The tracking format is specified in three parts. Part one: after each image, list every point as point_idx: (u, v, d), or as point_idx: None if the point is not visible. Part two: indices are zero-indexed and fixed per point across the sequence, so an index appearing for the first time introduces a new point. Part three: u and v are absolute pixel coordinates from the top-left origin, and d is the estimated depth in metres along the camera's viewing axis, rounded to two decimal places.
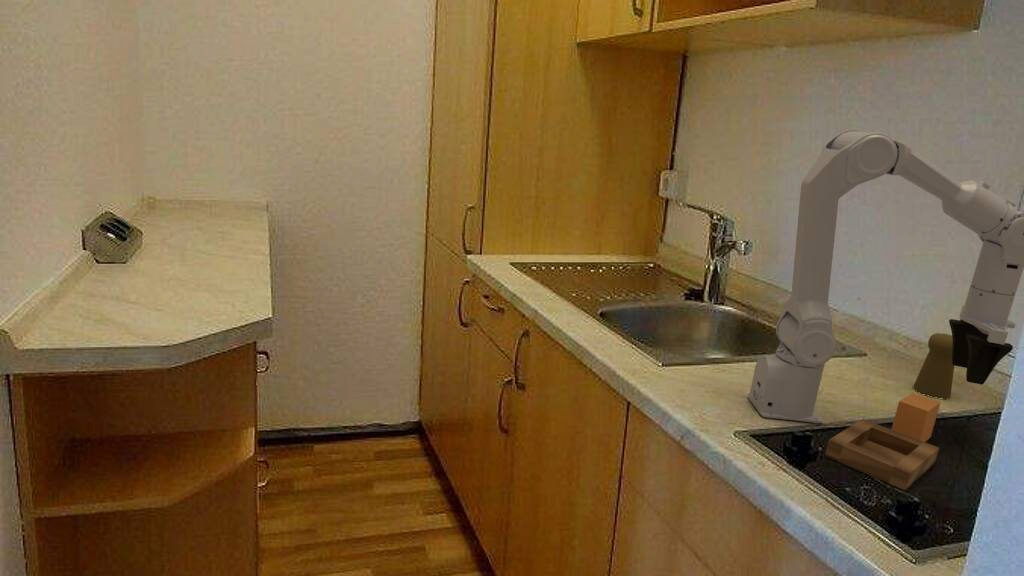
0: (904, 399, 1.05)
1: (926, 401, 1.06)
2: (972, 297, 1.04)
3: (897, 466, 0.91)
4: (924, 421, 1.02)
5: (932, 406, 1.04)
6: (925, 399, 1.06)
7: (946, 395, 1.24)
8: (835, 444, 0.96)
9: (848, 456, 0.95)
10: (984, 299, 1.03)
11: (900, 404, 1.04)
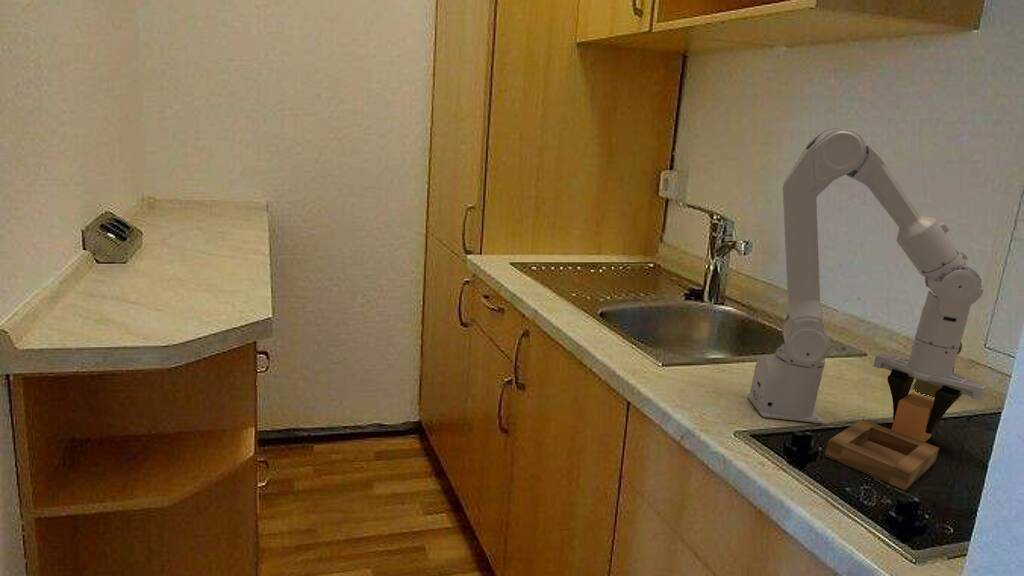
0: (904, 398, 1.05)
1: (926, 400, 1.05)
2: None
3: (897, 466, 0.91)
4: (924, 420, 1.02)
5: (932, 406, 1.04)
6: (925, 399, 1.06)
7: None
8: (835, 444, 0.96)
9: (848, 456, 0.95)
10: None
11: (901, 403, 1.04)
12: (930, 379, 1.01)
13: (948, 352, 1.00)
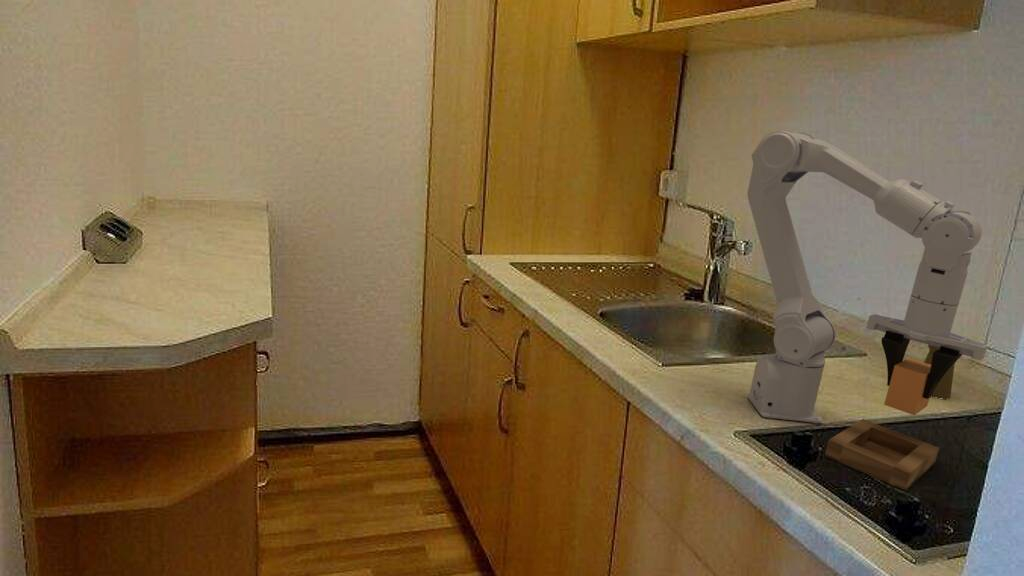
0: (900, 363, 0.99)
1: (923, 366, 0.99)
2: None
3: (897, 466, 0.91)
4: (921, 386, 0.96)
5: (929, 371, 0.97)
6: (922, 364, 1.00)
7: (946, 395, 1.24)
8: (835, 444, 0.96)
9: (848, 456, 0.95)
10: None
11: (896, 368, 0.98)
12: (927, 339, 0.94)
13: (946, 309, 0.93)
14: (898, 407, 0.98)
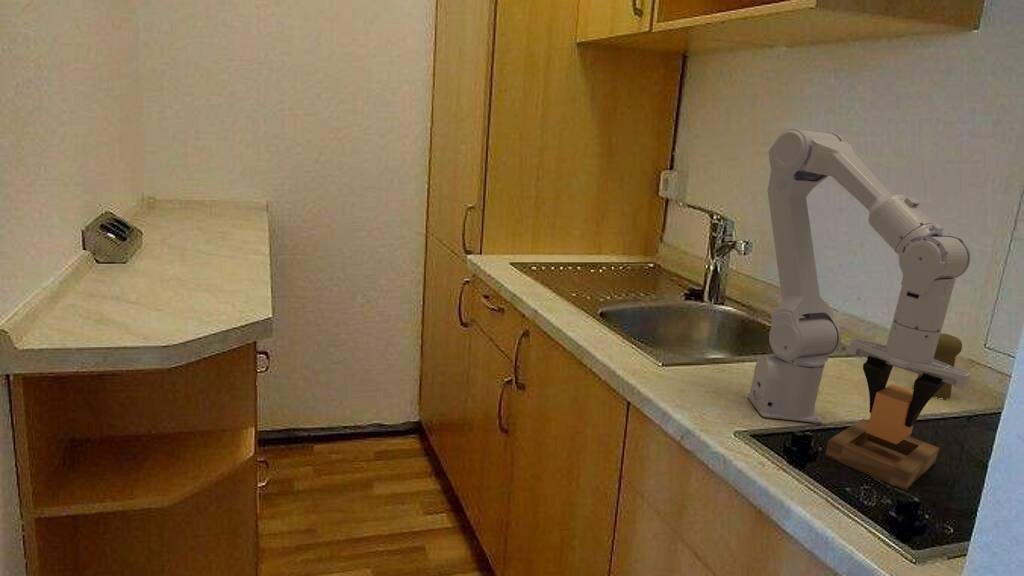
0: (882, 390, 0.96)
1: (906, 393, 0.96)
2: None
3: (897, 466, 0.91)
4: (903, 414, 0.93)
5: None
6: (905, 391, 0.97)
7: (946, 395, 1.24)
8: (835, 444, 0.96)
9: (848, 456, 0.95)
10: None
11: (878, 395, 0.95)
12: (909, 366, 0.91)
13: (928, 335, 0.90)
14: (880, 435, 0.95)
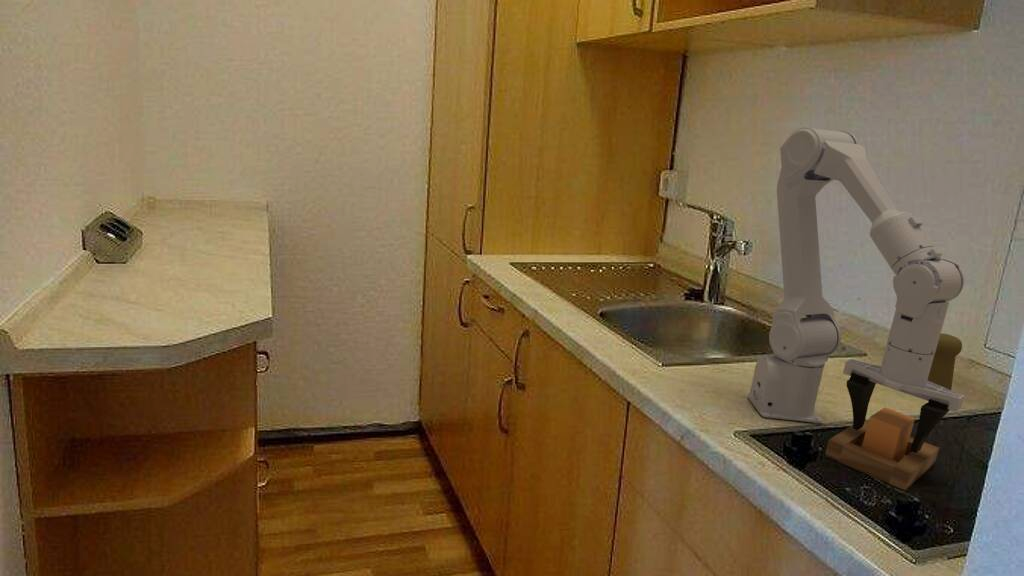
0: (876, 414, 0.97)
1: (899, 417, 0.97)
2: None
3: (897, 466, 0.91)
4: (896, 439, 0.94)
5: (905, 423, 0.95)
6: (898, 415, 0.98)
7: None
8: (835, 444, 0.96)
9: (848, 456, 0.95)
10: None
11: (871, 420, 0.96)
12: (903, 388, 0.92)
13: (922, 358, 0.91)
14: None
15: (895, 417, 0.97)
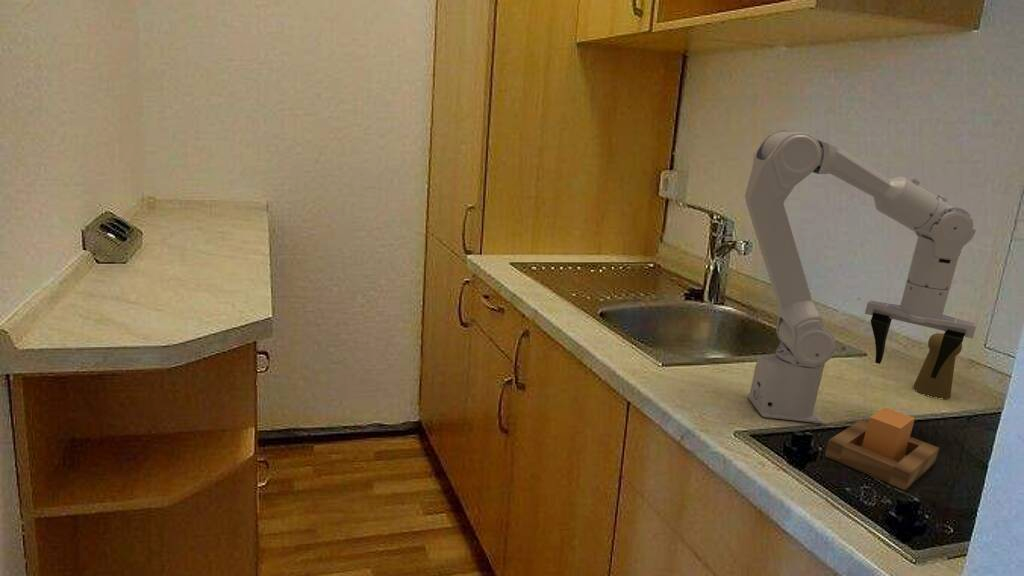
0: (876, 414, 0.97)
1: (899, 417, 0.97)
2: None
3: (897, 466, 0.91)
4: (896, 439, 0.94)
5: (905, 423, 0.95)
6: (898, 415, 0.98)
7: (946, 395, 1.24)
8: (835, 444, 0.96)
9: (848, 456, 0.95)
10: None
11: (871, 420, 0.96)
12: (926, 321, 1.03)
13: (941, 293, 1.02)
14: None
15: (895, 417, 0.97)
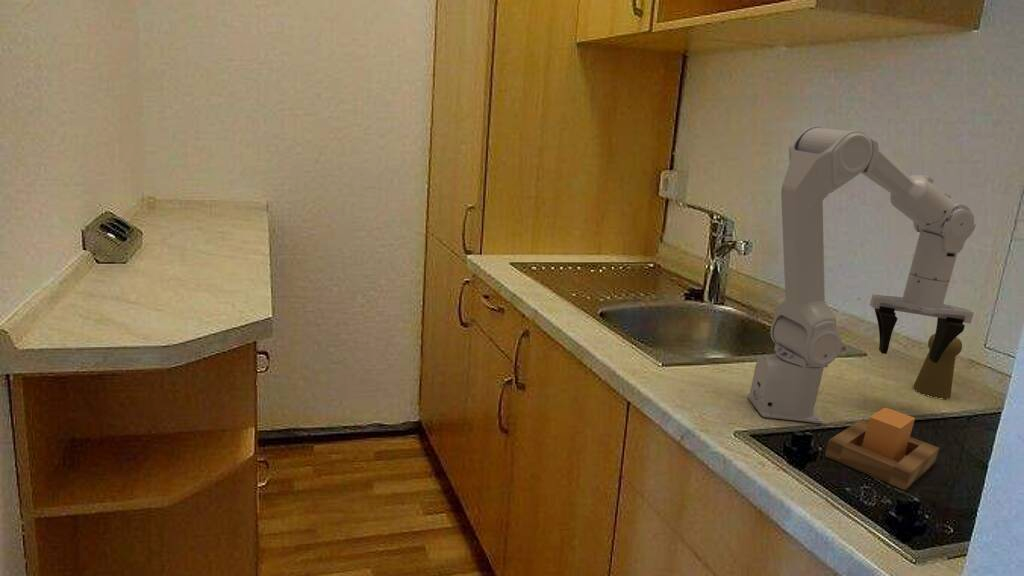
0: (876, 414, 0.97)
1: (899, 417, 0.97)
2: None
3: (897, 466, 0.91)
4: (896, 439, 0.94)
5: (905, 423, 0.95)
6: (898, 415, 0.98)
7: (946, 395, 1.24)
8: (835, 444, 0.96)
9: (848, 456, 0.95)
10: None
11: (871, 420, 0.96)
12: None
13: (946, 284, 1.09)
14: None
15: (895, 417, 0.97)
